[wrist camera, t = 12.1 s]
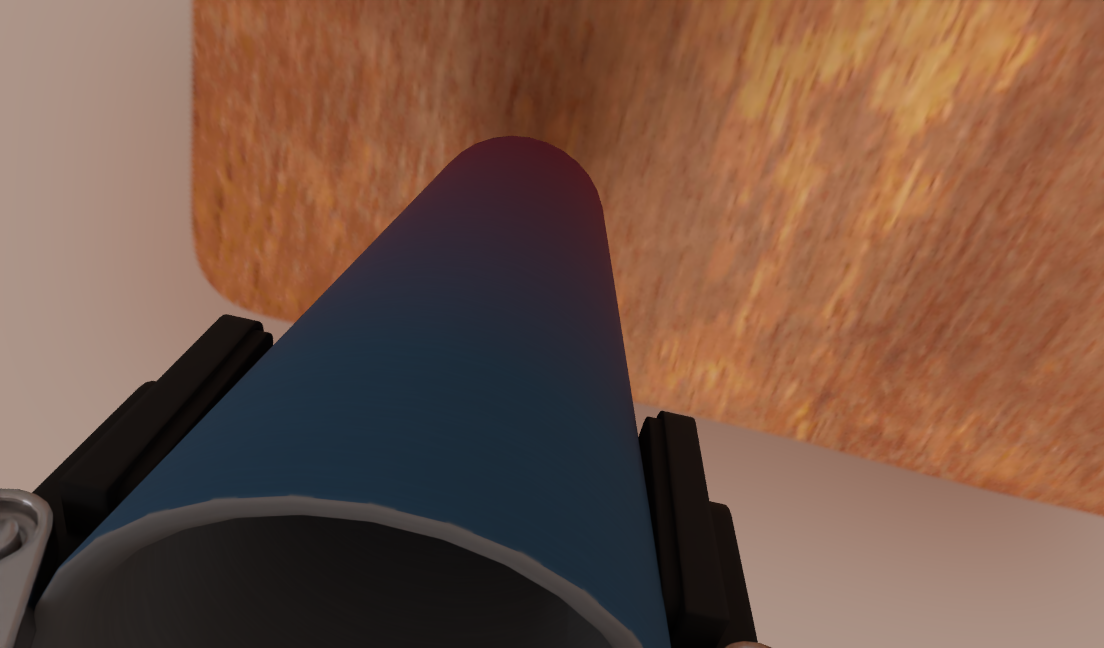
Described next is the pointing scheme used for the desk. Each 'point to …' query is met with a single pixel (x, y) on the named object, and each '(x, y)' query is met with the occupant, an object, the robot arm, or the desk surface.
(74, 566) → the cup
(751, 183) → the desk surface
